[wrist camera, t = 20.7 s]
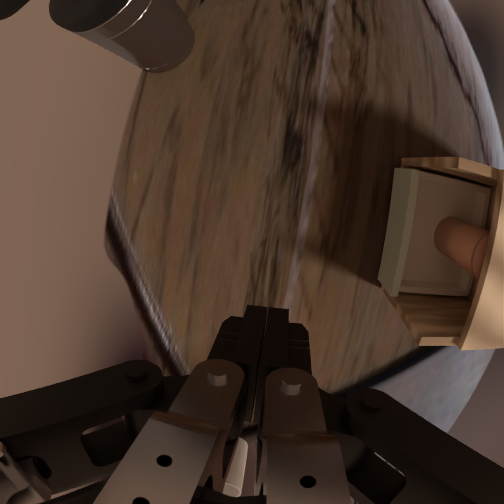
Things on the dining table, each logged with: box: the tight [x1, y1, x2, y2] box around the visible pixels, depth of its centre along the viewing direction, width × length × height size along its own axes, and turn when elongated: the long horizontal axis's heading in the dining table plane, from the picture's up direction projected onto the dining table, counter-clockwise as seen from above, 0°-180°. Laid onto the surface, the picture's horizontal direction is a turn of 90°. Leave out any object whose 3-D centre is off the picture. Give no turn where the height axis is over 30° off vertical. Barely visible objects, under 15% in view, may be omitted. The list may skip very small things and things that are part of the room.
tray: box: [377, 168, 491, 297], centre depth 34 cm, size 15×13×6 cm
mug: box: [223, 437, 248, 497], centre depth 47 cm, size 10×7×12 cm, turn 91°
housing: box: [381, 157, 504, 350], centre depth 29 cm, size 18×14×16 cm
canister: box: [434, 217, 490, 281], centre depth 29 cm, size 6×6×11 cm
